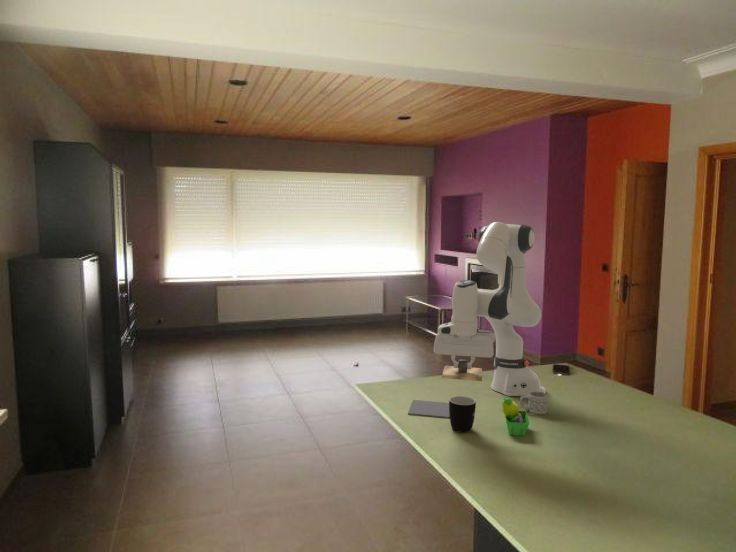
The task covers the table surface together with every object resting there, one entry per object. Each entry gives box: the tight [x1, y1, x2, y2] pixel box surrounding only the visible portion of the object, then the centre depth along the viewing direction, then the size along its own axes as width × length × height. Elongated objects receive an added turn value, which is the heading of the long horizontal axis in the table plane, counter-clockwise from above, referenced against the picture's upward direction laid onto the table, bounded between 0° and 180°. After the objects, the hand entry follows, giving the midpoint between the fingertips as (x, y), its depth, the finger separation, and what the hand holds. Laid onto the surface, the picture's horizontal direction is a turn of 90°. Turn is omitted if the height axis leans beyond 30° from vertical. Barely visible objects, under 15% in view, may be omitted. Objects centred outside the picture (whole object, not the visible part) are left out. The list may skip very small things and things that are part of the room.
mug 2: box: [519, 391, 548, 415], centre depth 198 cm, size 10×7×7 cm, turn 84°
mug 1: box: [448, 395, 477, 433], centre depth 181 cm, size 12×9×10 cm
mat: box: [407, 399, 450, 419], centre depth 198 cm, size 15×15×1 cm
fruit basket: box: [501, 397, 530, 437], centre depth 179 cm, size 11×9×11 cm
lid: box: [441, 358, 483, 382], centre depth 179 cm, size 13×13×5 cm
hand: (462, 368), depth 179 cm, fingers closed on lid, 3 cm apart
